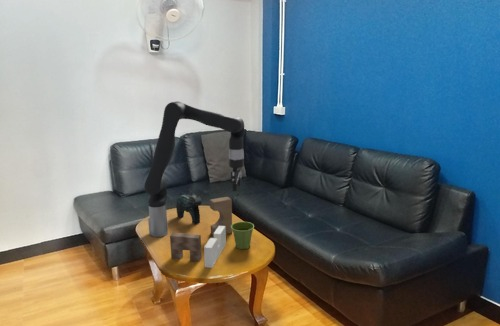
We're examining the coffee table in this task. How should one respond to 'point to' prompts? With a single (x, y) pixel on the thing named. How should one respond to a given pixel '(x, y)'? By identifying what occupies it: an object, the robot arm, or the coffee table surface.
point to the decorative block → (222, 213)
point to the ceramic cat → (189, 206)
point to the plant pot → (242, 234)
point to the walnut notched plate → (185, 246)
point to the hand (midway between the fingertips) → (236, 188)
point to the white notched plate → (215, 246)
